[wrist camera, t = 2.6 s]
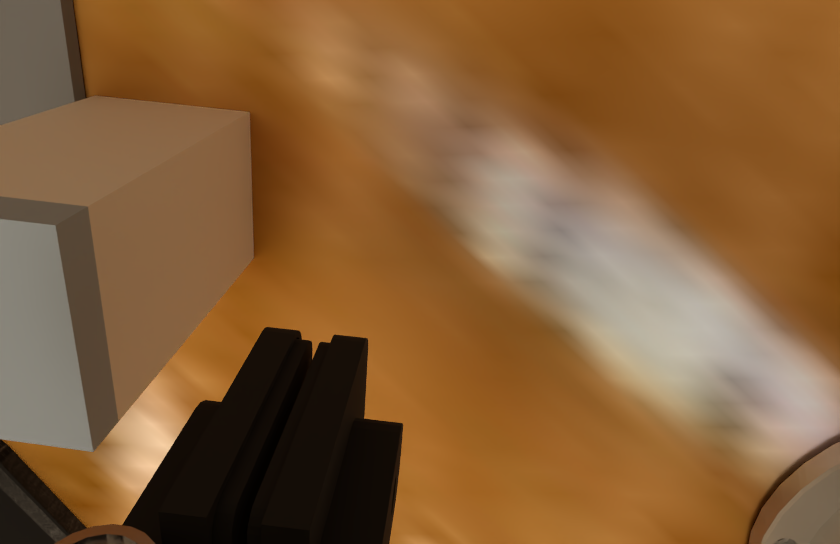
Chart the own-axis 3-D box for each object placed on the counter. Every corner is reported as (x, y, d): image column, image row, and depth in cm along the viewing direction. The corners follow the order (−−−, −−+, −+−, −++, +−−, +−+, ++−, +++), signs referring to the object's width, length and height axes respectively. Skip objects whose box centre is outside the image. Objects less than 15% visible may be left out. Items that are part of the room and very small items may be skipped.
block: (249, 111, 20) (55, 225, 11) (254, 258, 22) (93, 451, 13) (95, 95, 21) (-215, 193, 12) (113, 241, 23) (-137, 420, 14)
